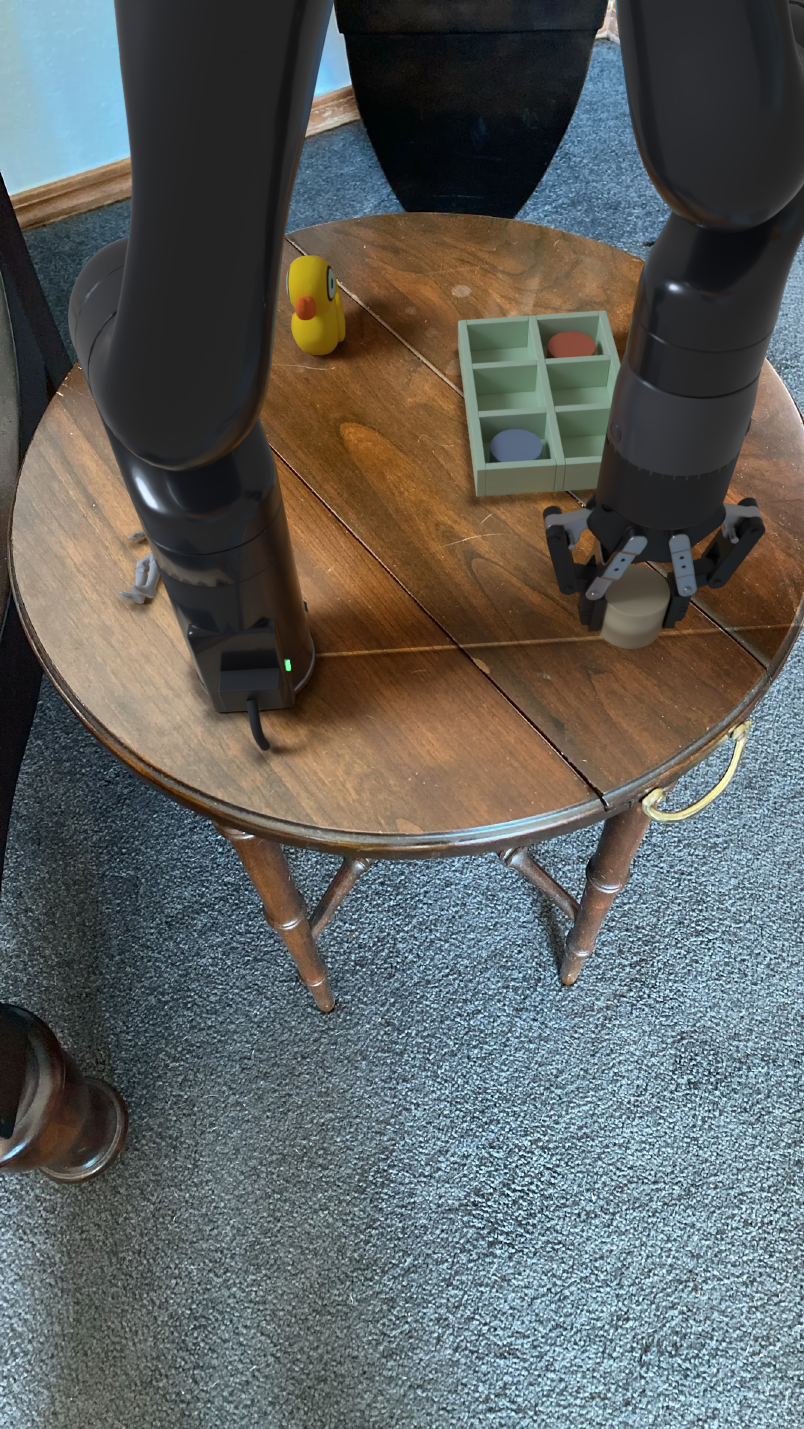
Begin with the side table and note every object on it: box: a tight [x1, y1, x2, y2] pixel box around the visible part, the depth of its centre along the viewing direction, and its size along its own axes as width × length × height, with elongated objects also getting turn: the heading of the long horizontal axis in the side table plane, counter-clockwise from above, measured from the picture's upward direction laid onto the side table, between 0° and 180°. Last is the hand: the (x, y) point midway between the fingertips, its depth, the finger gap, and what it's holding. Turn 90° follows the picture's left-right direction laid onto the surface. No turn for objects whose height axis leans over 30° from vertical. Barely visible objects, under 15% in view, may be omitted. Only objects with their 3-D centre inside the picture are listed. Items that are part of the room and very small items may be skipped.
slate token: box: [489, 429, 542, 463], centre depth 86 cm, size 5×5×2 cm
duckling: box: [285, 254, 346, 356], centre depth 95 cm, size 11×5×10 cm, turn 174°
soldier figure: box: [118, 530, 161, 605], centre depth 82 cm, size 8×5×12 cm
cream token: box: [598, 564, 670, 650], centre depth 67 cm, size 5×5×4 cm
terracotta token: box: [546, 331, 596, 359], centre depth 94 cm, size 5×5×2 cm
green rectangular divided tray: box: [457, 309, 621, 497], centre depth 90 cm, size 14×21×4 cm
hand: (628, 620), depth 68 cm, fingers closed on cream token, 4 cm apart
